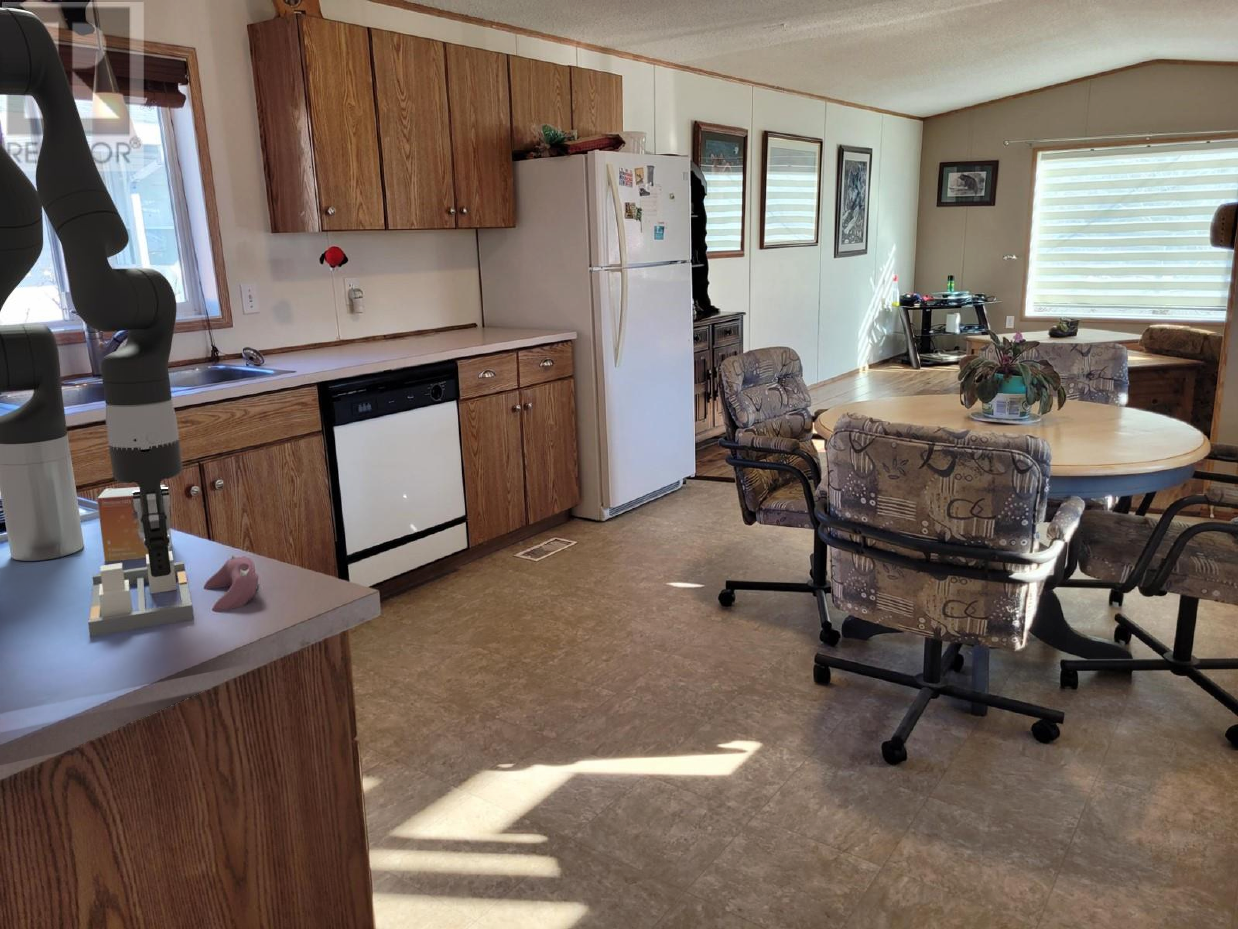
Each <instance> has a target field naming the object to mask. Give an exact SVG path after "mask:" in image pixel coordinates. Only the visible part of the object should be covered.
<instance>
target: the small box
mask: <svg viewBox="0 0 1238 929" xmlns="http://www.w3.org/2000/svg"><path fill="white" fill-rule="evenodd" d="M166 486H167V485H166V484H160V487H161V488H165V487H166ZM139 489H140V487H139V486H136V487H135V486H133V487H122V488H121V487H120V488H119V487H118V488H113V487H112V488H105V489H104V490H103V491H102V492H101V493H100V495H99V496H98V497H97V510H98V518H99V526H100V533H101V534H100V535H101V540H102V541H101V542H102V549H103V559H104V562H105V563H107V562H113V561H114V562H115V561H116V562H117V561H126V560H135V559H137V560H139V559H146V554H148V549H147V548H146V546H145V544H144V542H145V540H144V539H145V535H144V533H142V532H141V531H140V530H139V522H138V515H137V511H135V509H134V503H133V491H138V490H139ZM163 506H164V505H163ZM142 513H143V511H142ZM167 535H169V540H170V543H169V546H168V551H171V548H172V547H173V541H172V540H173V539H172V532H171V528H170V529H168V531H167Z"/></svg>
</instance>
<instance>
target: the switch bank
mask: <svg viewBox="0 0 1238 929" xmlns="http://www.w3.org/2000/svg"><path fill="white" fill-rule="evenodd" d="M173 563H174V571H175V579H176V578H177V582H178V589H179V595H180V602H181V603H178V604H173V605H166V606H160V607H155V608H148V609H147V608H146V594H145V593H146V591H145V583H149V578H148V571H147V566H143V567H136V568H130V569H123V573H124V580H129V586H130V585H137V610H136V611H133V612H129V613H123V614H117V615H111V616H105V617H102V613H101V606H100V599H99V588H100V584H102V580H101V573H96V574H92V582H93V584H92V594H91V604H90V605H91V606H90V613H89V614H90V615H89V616H90V617H89V619H88V620H87V624H88V632H89V636H90V637H97V636H103V635H108V634H109V635H110V634H114V633H115V634H116V633H121V632H126V631H131V630H132V631H133V630H139V629H144V628H149V627H150V628H151V627H154V626H162V625H167V624H172V623H179V622H184V621H189V620H194V619H195V617H194V610H193V603H192V602H193V601H192V599H191V595H190V588H189V583H188V578H187V573H186V566H185V561H178V562H173Z"/></svg>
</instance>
